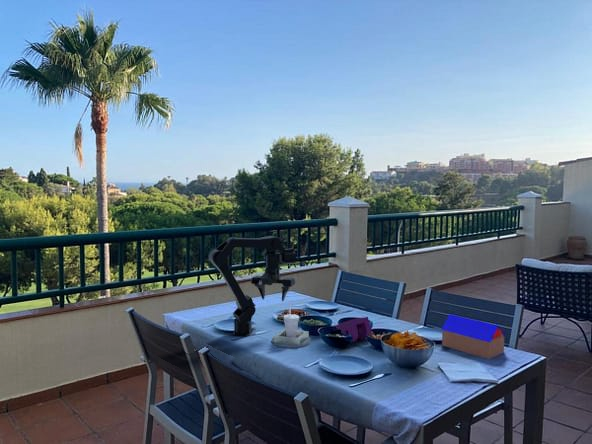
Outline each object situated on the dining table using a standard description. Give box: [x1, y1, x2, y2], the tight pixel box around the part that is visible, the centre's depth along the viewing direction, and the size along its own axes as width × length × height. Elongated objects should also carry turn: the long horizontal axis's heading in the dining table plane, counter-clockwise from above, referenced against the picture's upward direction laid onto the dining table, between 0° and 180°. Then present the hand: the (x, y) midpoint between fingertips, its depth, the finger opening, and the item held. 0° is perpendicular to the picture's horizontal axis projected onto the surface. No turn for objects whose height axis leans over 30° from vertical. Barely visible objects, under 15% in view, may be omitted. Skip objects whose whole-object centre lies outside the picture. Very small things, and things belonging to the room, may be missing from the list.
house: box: [441, 314, 506, 360], centre depth 178 cm, size 12×20×12 cm, turn 40°
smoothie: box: [283, 305, 300, 338], centre depth 186 cm, size 6×6×14 cm
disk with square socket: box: [271, 328, 312, 349], centre depth 186 cm, size 16×16×3 cm
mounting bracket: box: [331, 316, 372, 344], centre depth 192 cm, size 9×8×18 cm
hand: (273, 300), depth 201 cm, fingers open, 9 cm apart
